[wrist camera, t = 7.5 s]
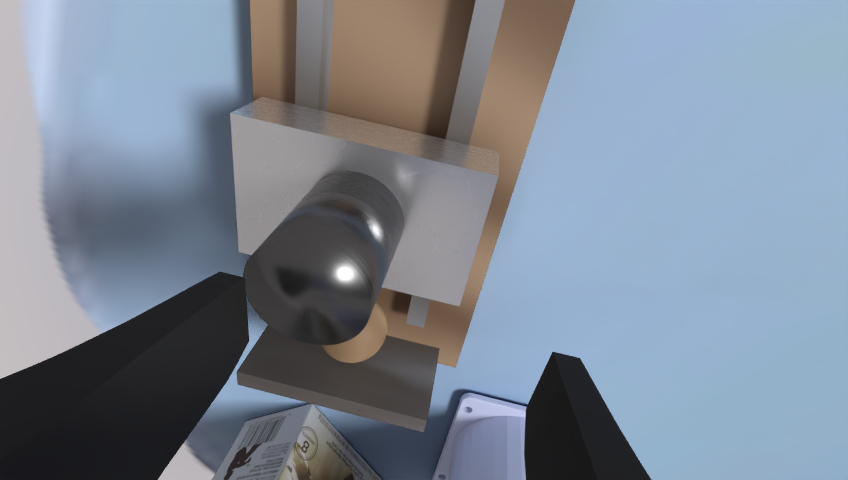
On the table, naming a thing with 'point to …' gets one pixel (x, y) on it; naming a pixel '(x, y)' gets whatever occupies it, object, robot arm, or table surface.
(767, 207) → the table surface
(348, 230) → the press carriage
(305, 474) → the coffee box
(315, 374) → the nut press
